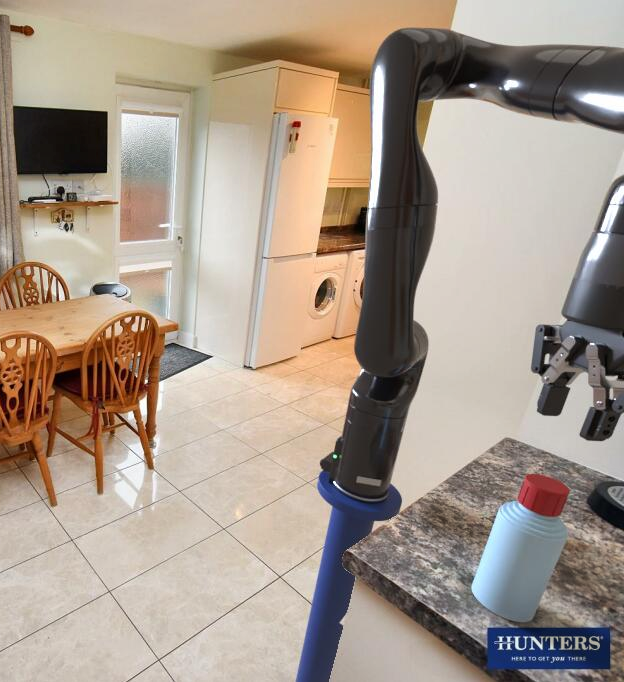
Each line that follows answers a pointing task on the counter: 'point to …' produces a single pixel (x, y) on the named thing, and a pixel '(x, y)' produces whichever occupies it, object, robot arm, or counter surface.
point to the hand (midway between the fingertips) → (569, 425)
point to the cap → (543, 495)
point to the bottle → (518, 561)
